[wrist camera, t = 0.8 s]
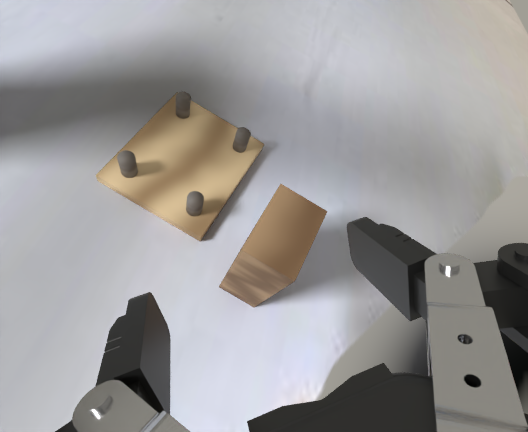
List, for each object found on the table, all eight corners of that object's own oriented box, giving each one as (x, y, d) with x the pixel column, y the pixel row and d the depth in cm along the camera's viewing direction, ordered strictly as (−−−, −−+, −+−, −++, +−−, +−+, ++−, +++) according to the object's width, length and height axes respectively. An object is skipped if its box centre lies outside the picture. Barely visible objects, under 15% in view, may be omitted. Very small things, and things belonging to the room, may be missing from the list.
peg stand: (98, 181, 33) (89, 161, 29) (177, 99, 39) (177, 75, 36) (200, 241, 33) (203, 228, 29) (261, 149, 39) (269, 130, 36)
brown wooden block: (218, 286, 31) (241, 250, 21) (247, 238, 34) (280, 183, 24) (254, 307, 31) (294, 281, 21) (279, 257, 34) (327, 211, 24)
